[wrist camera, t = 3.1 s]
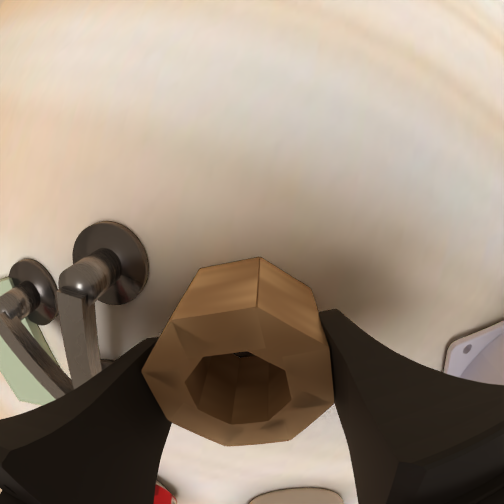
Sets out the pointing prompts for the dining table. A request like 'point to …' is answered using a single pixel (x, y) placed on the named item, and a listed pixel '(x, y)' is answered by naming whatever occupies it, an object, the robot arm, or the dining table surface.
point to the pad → (14, 369)
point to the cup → (299, 497)
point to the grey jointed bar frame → (72, 303)
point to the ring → (246, 368)
